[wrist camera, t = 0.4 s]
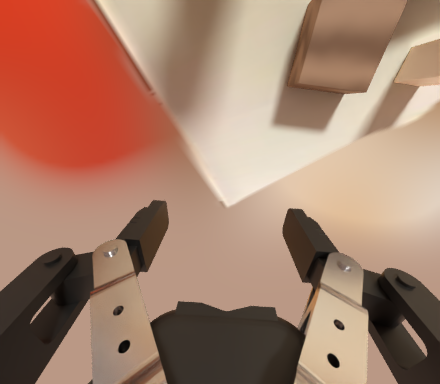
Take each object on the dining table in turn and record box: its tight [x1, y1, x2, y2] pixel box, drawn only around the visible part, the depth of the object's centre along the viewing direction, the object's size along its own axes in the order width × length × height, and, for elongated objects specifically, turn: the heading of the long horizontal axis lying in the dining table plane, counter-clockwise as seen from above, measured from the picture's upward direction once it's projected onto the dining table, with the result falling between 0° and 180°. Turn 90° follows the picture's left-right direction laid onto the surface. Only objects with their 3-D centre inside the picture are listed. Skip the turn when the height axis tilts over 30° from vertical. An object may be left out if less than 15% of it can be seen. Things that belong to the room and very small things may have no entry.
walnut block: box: [287, 0, 408, 94], centre depth 27 cm, size 11×11×6 cm
